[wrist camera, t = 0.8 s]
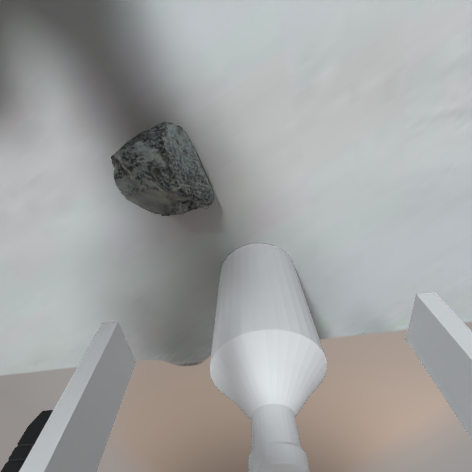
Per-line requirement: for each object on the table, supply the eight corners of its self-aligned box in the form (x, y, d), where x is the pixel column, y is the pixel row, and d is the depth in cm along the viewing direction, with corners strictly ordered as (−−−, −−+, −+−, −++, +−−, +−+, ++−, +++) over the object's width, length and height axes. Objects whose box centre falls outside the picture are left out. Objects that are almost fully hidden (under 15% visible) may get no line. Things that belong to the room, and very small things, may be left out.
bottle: (216, 302, 45) (196, 508, 23) (221, 238, 40) (202, 430, 18) (288, 307, 46) (336, 514, 24) (304, 245, 40) (385, 440, 18)
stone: (204, 181, 25) (93, 188, 25) (215, 225, 35) (134, 230, 35) (203, 100, 29) (105, 106, 29) (213, 160, 38) (140, 164, 38)
